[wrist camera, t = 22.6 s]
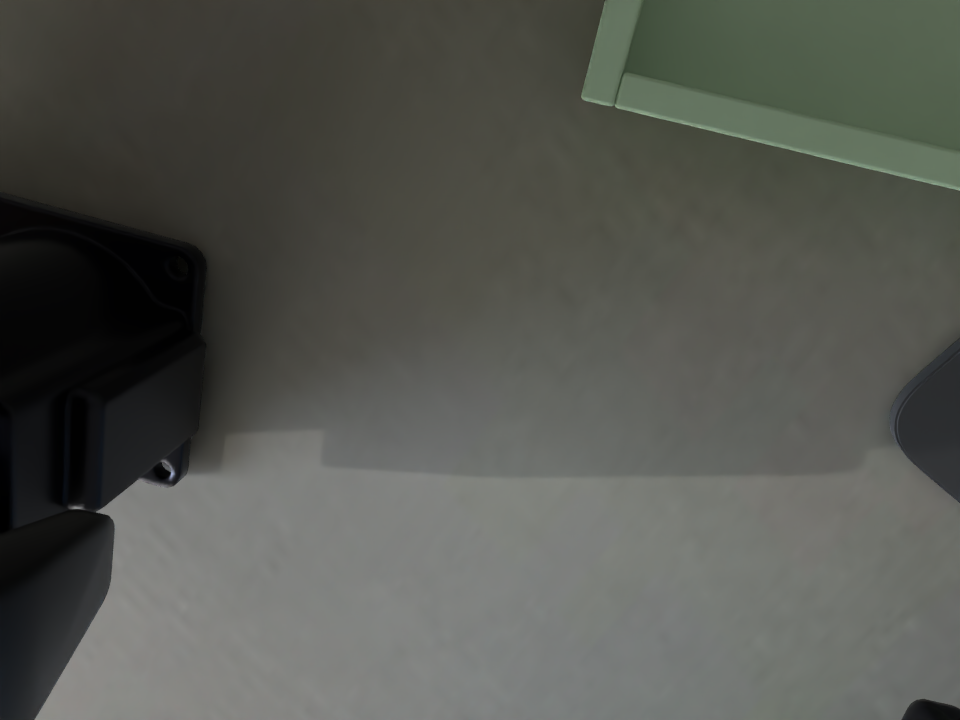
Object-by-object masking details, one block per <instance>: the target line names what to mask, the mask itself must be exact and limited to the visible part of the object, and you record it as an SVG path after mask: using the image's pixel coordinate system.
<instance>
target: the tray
mask: <svg viewBox="0 0 960 720" xmlns="http://www.w3.org/2000/svg"><path fill="white" fill-rule="evenodd" d="M581 97H582V99H583V100H585V101H589V102H593V103H597V104H602V105H606V106H613V105H615V107H617V108H618V109H622V110H626V111H631V112H635V113H639V114H643V115H647V116H651V117H656V118H660V119H664V120H668V121H672V122H676V123H680V124H685V125H689V126H693V127H697V128H701V129H705V130H709V131H714V132H718V133H722V134H726V135H730V136H734V137H739V138H743V139H747V140H751V141H755V142H759V143H763V144H768V145H772V146H776V147H780V148H784V149H788V150H793V151H797V152H801V153H805V154H809V155H813V156H817V157H822V158H826V159H830V160H834V161H838V162H842V163H847V164H851V165H855V166H859V167H863V168H867V169H871V170H876V171H880V172H884V173H888V174H892V175H896V176H901V177H905V178H909V179H913V180H917V181H921V182H925V183H930V184H934V185H938V186H942V187H946V188H950V189H954V190H959V191H960V0H605V4H604V8H603V11H602V15H601V19H600V23H599V27H598V31H597V35H596V39H595V43H594V47H593V51H592V55H591V59H590V62H589V66H588V70H587V74H586V78H585V82H584V86H583V90H582V94H581Z"/></svg>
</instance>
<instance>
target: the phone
mask: <svg viewBox="0 0 960 720" xmlns="http://www.w3.org/2000/svg"><path fill="white" fill-rule="evenodd" d="M890 429H891V433H892V435H893V437H894V439H895V441H896V443H897V444H898V446H899V447H900V448H901V450H902V451H903V452H904V454H905V455H906V456H907V457H908V458H909V459H910V460H911V461H912V462H913V463H914V464H915V465H916V466H917V467H918V468H919V469H920V470H922V471H923V472H924V473H925V474H926V475H927V476H928V477H930V478H931V479H932V480H933V481H934V482H936V483H937V484H938V485H939V486H940V487H941V488H943V489H944V490H945V491H946V492H947V493H949V494H950V495H951V496H952V497H953V498H954V499H956V500H957V501H958V502H959V503H960V338H959V339H958V340H957V341H956V342H955V343H953V344H952V345H951V346H950V347H949V348H948V349H946V350H945V351H944V352H943V353H942V354H941V355H940V356H938V357H937V358H936V359H935V360H934V361H933V362H931V363H930V364H929V365H928V366H927V367H926V368H925V369H923V370H922V371H921V372H920V373H919V374H918V375H917V376H916V377H914V378H913V379H912V380H911V381H910V382H909V383H908V384H907V385H906V386H905V387H904V388H903V390H902V391H901V392H900V394H899V395H898V396H897V398H896V400H895V402H894V404H893V406H892V409H891V412H890Z"/></svg>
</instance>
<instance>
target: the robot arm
mask: <svg viewBox="0 0 960 720" xmlns="http://www.w3.org/2000/svg"><path fill="white" fill-rule="evenodd" d="M178 256H179V257H180V258H182V259H184V261H185V262H186V263H187V266H188V272H187V274H185V273H184V272H182V271H181V270H180V269H179V267H178V265H177V258H178ZM206 269H207V268H206V260H205V258H204V256H203V254H202V252H201V251H200V250H199V249H198V248H197V247H195V246H193V245H191V244H189V243H186V242H183V241H179V240H175V239H171V238H168V237H164V236H160V235H157V234H153V233H149V232H146V231H142V230H138V229H135V228H131V227H127V226H124V225H120V224H116V223H112V222H109V221H105V220H101V219H98V218H94V217H90V216H87V215H83V214H79V213H76V212H72V211H68V210H65V209H61V208H57V207H53V206H50V205H46V204H42V203H39V202H35V201H31V200H28V199H24V198H20V197H17V196H13V195H9V194H6V193H2V192H0V720H34V719H35V718H36V716H37V715H38V713H39V711H40V710H41V708H42V706H43V705H44V703H45V701H46V699H47V698H48V696H49V694H50V693H51V691H52V689H53V687H54V686H55V684H56V682H57V681H58V679H59V677H60V675H61V674H62V672H63V670H64V669H65V667H66V665H67V663H68V662H69V660H70V658H71V657H72V655H73V653H74V651H75V650H76V648H77V646H78V645H79V643H80V641H81V639H82V638H83V636H84V634H85V632H86V631H87V629H88V627H89V626H90V624H91V622H92V620H93V619H94V617H95V615H96V614H97V612H98V610H99V608H100V607H101V605H102V603H103V601H104V599H105V597H106V595H107V592H108V589H109V586H110V581H111V571H112V558H113V544H114V523H113V520H112V519H111V518H110V517H109V516H108V515H105V514H100V513H96V511H98V510H100V509H101V508H103V507H104V506H105V505H107V504H108V503H109V502H110V501H112V500H113V499H114V498H115V497H117V496H118V495H119V494H120V493H122V492H123V491H124V490H125V489H127V488H128V487H129V486H130V485H132V484H133V483H134V482H135V481H137V480H140V481H143V482H146V483H150V484H153V485H156V486H160V487H166V488H168V487H172V486H174V485H175V484H176V483H178V482H179V481H180V480H181V479H182V478H183V477H184V476H185V475H186V474H187V471H188V466H189V455H190V444H191V437H192V436H193V435H194V434H195V433H196V432H197V431H198V426H199V416H200V405H201V395H202V384H203V374H204V363H205V352H206V343H205V341H204V339H203V337H202V335H201V324H202V313H203V302H204V291H205V280H206ZM162 462H164V463H166V464H167V465H168V466H169V467H170V469H171V472H169V471H168V470H166V469H165V468H164V467H163V465H162ZM902 720H960V709H959V708H957V707H955V706H952V705H948V704H944V703H939V702H935V701H930V700H926V699H920V700H916V701H914V702H913V703H911V704H910V706H909V707H908V708H907V710H906V712H905V714H904V716H903V718H902Z"/></svg>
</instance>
